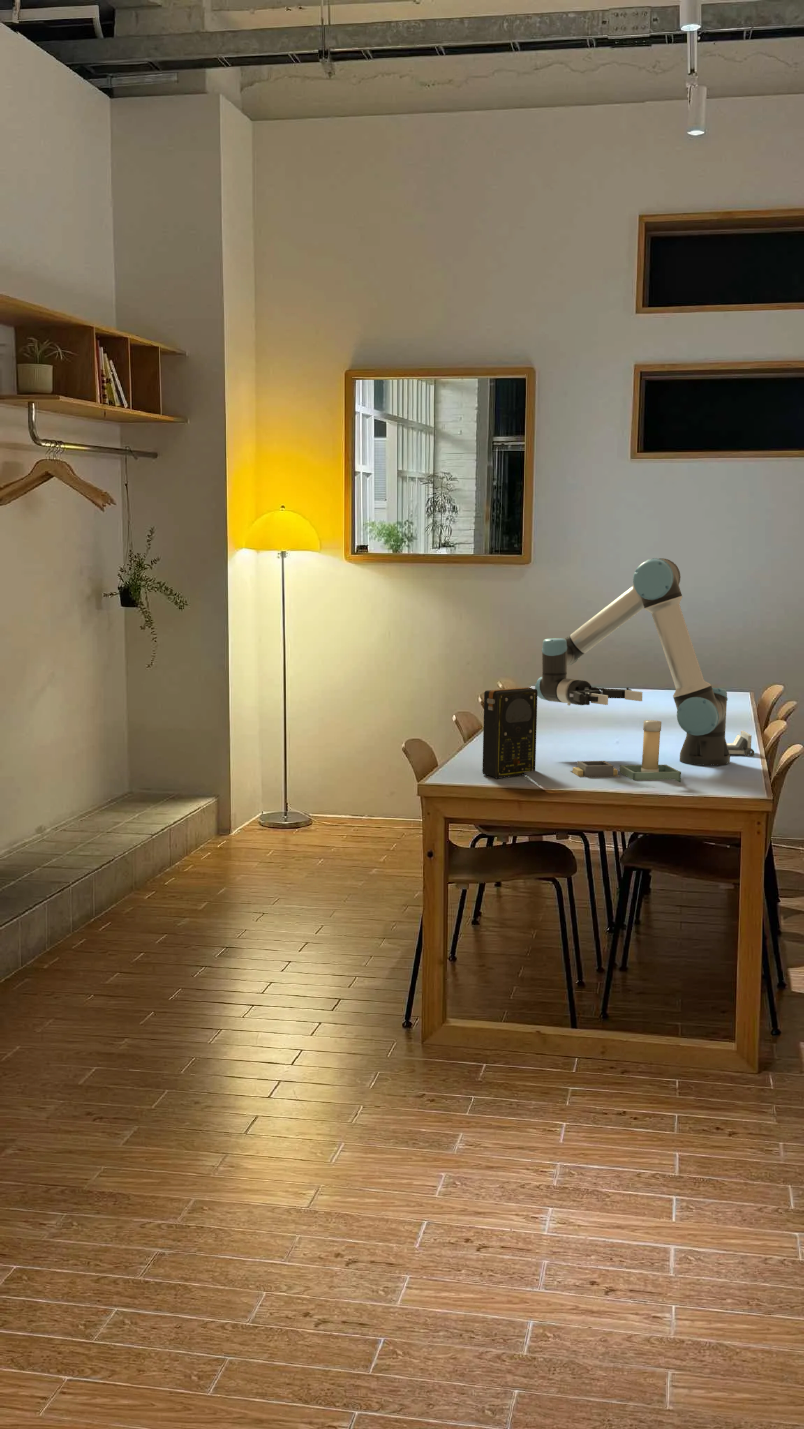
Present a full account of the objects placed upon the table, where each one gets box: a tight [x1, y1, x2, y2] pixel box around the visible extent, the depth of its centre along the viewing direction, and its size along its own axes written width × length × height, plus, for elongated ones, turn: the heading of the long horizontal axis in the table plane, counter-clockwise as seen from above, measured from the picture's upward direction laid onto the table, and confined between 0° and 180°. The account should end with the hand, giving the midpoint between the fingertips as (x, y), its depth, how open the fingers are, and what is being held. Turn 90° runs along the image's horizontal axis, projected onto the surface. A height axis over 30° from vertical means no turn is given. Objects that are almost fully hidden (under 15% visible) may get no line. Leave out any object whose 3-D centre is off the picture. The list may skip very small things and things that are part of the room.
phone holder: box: [726, 730, 755, 758], centre depth 424 cm, size 18×10×12 cm
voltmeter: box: [482, 686, 538, 780], centre depth 380 cm, size 16×9×25 cm, turn 126°
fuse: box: [641, 719, 662, 772], centre depth 377 cm, size 5×5×16 cm
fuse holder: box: [569, 760, 621, 778], centre depth 379 cm, size 12×10×4 cm
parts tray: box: [619, 764, 682, 783], centre depth 378 cm, size 14×12×3 cm
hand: (624, 698), depth 383 cm, fingers open, 13 cm apart
